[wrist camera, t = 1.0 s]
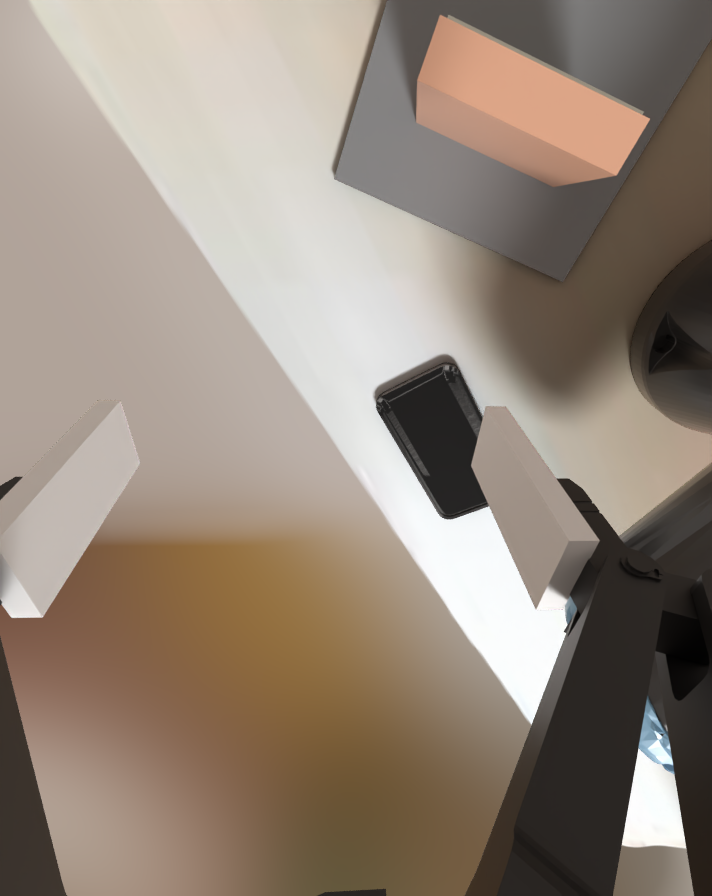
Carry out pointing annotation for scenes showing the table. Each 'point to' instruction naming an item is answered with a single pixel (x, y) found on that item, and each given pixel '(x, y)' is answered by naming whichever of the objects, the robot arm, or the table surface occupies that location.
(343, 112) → the table surface
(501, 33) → the mat
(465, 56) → the tile
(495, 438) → the robot arm
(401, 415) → the phone
